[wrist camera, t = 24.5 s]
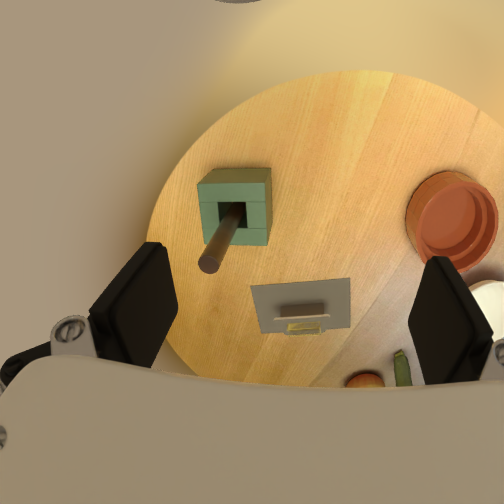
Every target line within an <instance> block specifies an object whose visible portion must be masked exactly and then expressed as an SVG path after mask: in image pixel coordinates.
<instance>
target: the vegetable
mask: <svg viewBox="0 0 504 504" xmlns="http://www.w3.org/2000/svg"><path fill="white" fill-rule="evenodd" d="M394 372H395V379H396V387H405V386H413V385H412V380H411V372H410V366H409V363H408V359H407V357H406V356H405V355H404V353H403V351H401V352H400V353H397V354H395V359H394Z"/></svg>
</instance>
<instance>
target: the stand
mask: <svg viewBox="0 0 504 504" xmlns="http://www.w3.org/2000/svg"><path fill="white" fill-rule="evenodd" d="M197 189H198V197H199V206H200V214H201V222H202V230H203V237H204V244H208V243H209V241H210V240H211V238H212V236H213V234H214V233H215V231H216V229H217V228H218V226H219V224H220V223H221V221H222V219H223V218H224V216H225V214H226V213H227V211H228V209H229V208H230V206H231V204H232V202H246V210H245V212H244V214H243V217H242V219H241V221H240V223H239V225H238V227H237V230H236V232H235V234H234V236H233V238H232V240H231V243H230V245H253V246H267V245H268V240H269V236H270V231H271V227H272V223H273V220H272V187H271V168H235V169H213V170H212V171H211V172H209V173H208V174H207V175H206V176H205V177H204V178H203V179H202V180H201V181H200V182H199V183H198V184H197Z"/></svg>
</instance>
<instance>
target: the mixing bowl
mask: <svg viewBox="0 0 504 504" xmlns="http://www.w3.org/2000/svg"><path fill="white" fill-rule="evenodd" d="M406 228H407V235H408V237H409V239H410V241H411V243H412V245H413V246H414V248H415V250H416V251H417V253H418V255H419V256H420V258H421V260H422V262H423V263H424V264H425V265H426V262H427V260H429V259H431V258H432V256H447V257H448V258H449V259H450V260H451V262H452V263H453V265H454V266H455V268H456V269H457V271H458V272H459V273H462V272H465V271H467V270H469V269H470V268H472V267H474V266H475V265H477V264H478V263H479V262H480V261H481V260H482V259H483V258H484V257H485V256H486V254H487V253H488V252H489V250H490V248H491V246H492V244H493V243H494V241H495V237H496V234H497V230H498V210H497V207H496V203H495V200H494V198H493V197H492V196H491V194H490V193H489V192H488V190H487V189H486V188H484V187H483V186H481V185H480V184H478V183H477V182H475V181H474V180H472V179H471V178H469V177H467V176H466V175H464V174H462V173H459V172H451V171H447V172H443V173H439V174H435V175H434V176H432V177H431V178H429V179H427V180H426V181H424V182H423V183H422V184H421V186H420V187H419V188H418V189H417V190H416V192H415V193H414V194H413V197H412V199H411V201H410V203H409V206H408V209H407V216H406Z"/></svg>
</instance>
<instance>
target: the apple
mask: <svg viewBox="0 0 504 504" xmlns="http://www.w3.org/2000/svg"><path fill="white" fill-rule="evenodd" d="M382 387H385V384H384V381H383V380H382V379H381V378H379V377H378V376H376V375H373V374H361V375H358V376H356V377H354V378H353V379H352V380H350V381H349V383H348V384H347V386H346V388H382Z"/></svg>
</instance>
